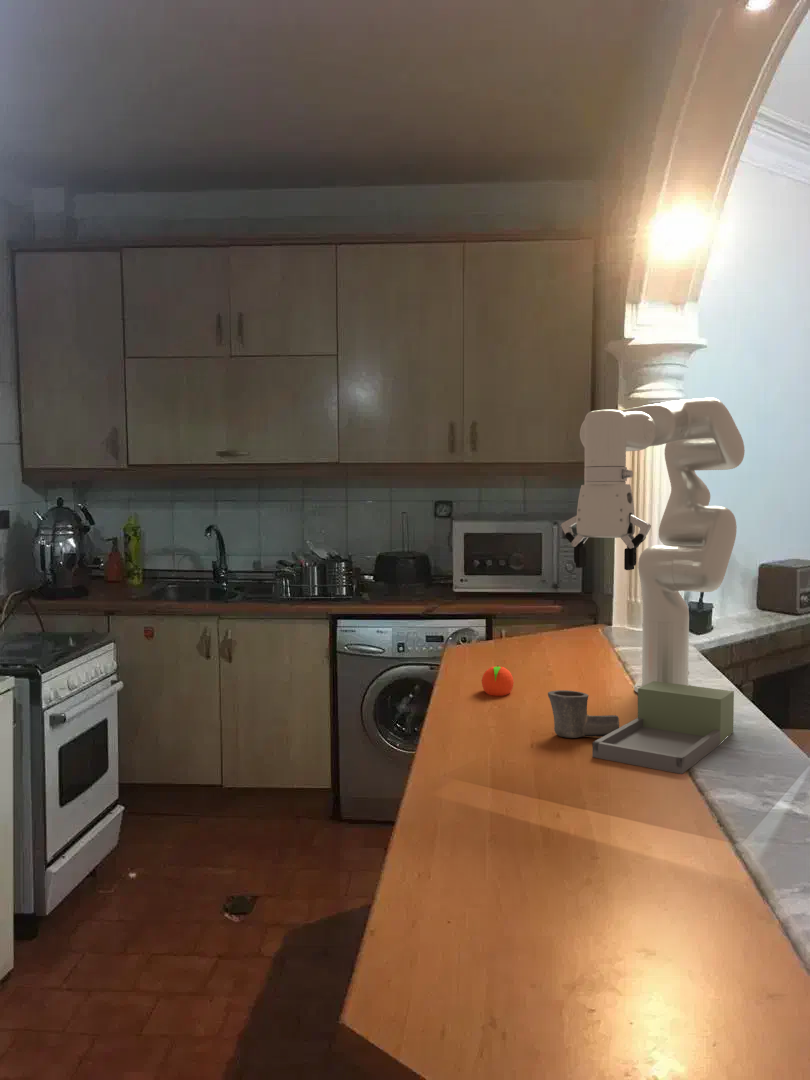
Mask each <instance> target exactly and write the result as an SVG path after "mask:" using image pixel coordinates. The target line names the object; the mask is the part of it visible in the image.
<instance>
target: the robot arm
mask: <svg viewBox="0 0 810 1080" xmlns="http://www.w3.org/2000/svg"><path fill="white" fill-rule="evenodd" d="M579 439H580V442H581V444H582V446H583V448H584V474H583V475H584V478H583V479H584V484H581V486H580V489H579V494H578V499H577V500H578V501H577V508H576V515H574V516H572V517H571V518H569V519H568V520H566V521H564V522H562V523H561V524H560V527H561V528H562V531H563V533H564V535H565V538H566V539H567V541H568V542H570V544H571V547H573V562H574V564H575V568H576V569H581V568H585V567H586V566H587V560H586V559H587V557H586V556H587V552H586V551H587V548H586V546H585V545H584V544H585V543H586V541H587V540H588V539H589V538H600V539H601V538H604V539H606V538H609V539H610V538H612V539H618V538H620V539H621V540H622V542H623V543H624V544H625V545H626V548H624V553H623V556H624V559H623V561H624V562H623V563H624V564H623V568H624V570H625V571H631V570H634V569H635V566H636V565H637V564H638V565H637V566H638V567H637V569H638V575H639V580H640V587H641V596H642V599H641V600H642V631H641V633H642V635H641V636H642V638H641V640H642V641H641V642H642V643H641V647H642V648H641V649H642V650H641V651H642V653H641V658H642V659H641V681H640V682H636V683H635V684H634V686H633V687H634V692H636V693H637V694H638V688H640V687H642V686H644V685H646V684H648V683H651V682H653V681H657V682H665V683H673V684H681V685H689V686H692V685H690V684H689V676H690V670H689V651H690V650H689V648H690V647H689V645H690V642H689V641H690V637H689V636H690V635H689V634H690V611H689V607H688V605H687V602H686V601H685V599H684V598H683V596H682V594H681V593H680V592H694V593H695V592H696V593H711V592H715V591H717V590H718V589H719V588H720V587H721V586H722V583H723V581H724V579H725V575H726V573H727V570H728V569H727V568H728V567H729V566H728V565H729V563H730V559H731V556H732V552H733V549H734V546H735V542H736V537H737V520H736V517H735V515H734V513H733V512H732V510H731V509H729V508H728V507H725V506H721V505H710V501H711V492H710V490H709V488H708V487H707V485H706V483H705V482H704V481H703V480H702V479H701V478H700V476H698V475H697V473H696V471H725V470H732V469H735V468H737V467H739V466H740V465H741V464H742V462H743V460H744V457H745V445H744V440H743V437H742V434H741V433H740V430H739V429H738V426H737V424H736V421H735V420H734V419H733V417H732V414H731V413H730V411H729V409H728V407H727V406H726V405H725V403H723V401H721V400H720V399H717V398H716V397H704V398H692V399H679V400H677V399H676V400H670V401H665V402H660V403H658V402H657V403H653V404H645V405H642V406H641V405H640V406H636V407H630V408H626V409H620V410H618V409H599V410H598V409H597V410H592V411H589V412H588V413H586V415H585V417H584V420H583V422H582V423H581V425H580V430H579ZM661 445H665V447H664V461H665V465H666V469H667V474H668V479H669V482H670V489H671V490H670V493H669V497H668V500H667V502H666V507H665V509H664V512H663V514H662V518H661V520H660V523H659V527H658V538H659V541H660V542H661V544H655V545H651V546H649V547H647V548H645V549H643V551H642V552H641V553H640V555H639V558H638V563H637V549H638V548H639V546H640V545H641V544H642V543H643V542H644V541H645V540H646V539H647V535H648V534H649V532H650V531H651V528H652V525H651V523H648V522H647V521H645V520H643V519H641V518H639V517H637V516H635V515H636V513H635V505H634V504H635V503H634V498H633V492H632V487H631V484H629V483H627V479H629V478H630V479H631V478H633V476H634V472H633V470H632V469H628V468H627V467H628V466H627V465H626V464H627V452H639V451H643V450H646V449H648V448H649V447H656V446H661ZM575 525H576V533H577V534H575V533H574V532H573V529H572V527H573V526H575ZM636 527H638V529H639V531H638V534H637V535H636V536H634V534H635V532H636Z"/></svg>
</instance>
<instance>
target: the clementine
mask: <svg viewBox="0 0 810 1080" xmlns="http://www.w3.org/2000/svg"><path fill="white" fill-rule="evenodd" d="M481 677H482V679H481V687H482V689H483V691H484V692H485V694H487V695H488V696H492V697H493V696H496V697H498V696H499V697H500V696H501V697H502V696H506V695H509V694H510V693H511V692H512V690H513V688H514V683H515V681H514V677H513V675H512V672H511V671H510V670H509V669H507V668H506V667H504V666H499V665H496V666H490V667H489V668H488V669H486V671H485V672H484V673H483V675H482V676H481Z"/></svg>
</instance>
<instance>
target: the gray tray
mask: <svg viewBox="0 0 810 1080" xmlns="http://www.w3.org/2000/svg"><path fill="white" fill-rule="evenodd" d="M689 685H690V684H688V685H681V684H673V683H665V682H657V681H653V682H651V683H648V684H646V685H644V686H642V687H640V688H638V693H637V717H636V718H634V719H632V720H631V721H629V722H628V723H625V724H623V725H622V726H619V728H618V729H616V730H614V731H612V732H611V733H609V734H607V735H605V736H603V737H600V738H597V739H596V740H594V741H592V756H591V757H592V758H596V759H600V760H606V761H612V762H617V763H622V764H627V765H631V766H632V765H633V766H636V767H637V766H638V767H642V768H643V767H644V768H650V769H653V770H659V771H664V772H665V771H666V772H669V773H675V774H680V775H683V774H684V773H685V772H687V771H688V770H689V769H690V768H692V767H693V766H694V765H696V764H697V763H698V762H699V761H701V760H702V759H703V758H705V757H706V756H707V755H709V754H710V753H711V752H712V751H714V750H715V749H717V746H718V745H719V744H720V743H721V742H722V741H723V740H724V739H725V738H726V737H727V736H729V735H730V734H731V733H732V732H733V733H734V714H735V713H734V709H735V707H734V706H735V703H734V702H735V700H734V699H735V690H734V691H733V690H728V689H727V690H725V689H719V688H712V687H711V688H710V687H704V686H703V687H702V686H695V685H691V686H689ZM733 733H732V734H733ZM732 734H731V735H732ZM731 735H730V736H731ZM730 736H729V737H730ZM720 745H721V744H720ZM720 745H719V746H720ZM719 746H718V747H719Z"/></svg>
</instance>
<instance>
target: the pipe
mask: <svg viewBox="0 0 810 1080" xmlns="http://www.w3.org/2000/svg"><path fill="white" fill-rule="evenodd" d="M547 696H548V699H549V701H550V705H551V709H552V714H553V715H552V716H553V723H554V724H553V725H554V727H553V728H554V730H553V731H554V733H555V734H556V736H558V737H560V738H567V739H576V738H584V737H588V738H589V737H591V738H592V737H593V738H594V737H598V738H599V737H600V738H601V737H603V736H605V735H607V734H609V733H611V732H612V731H614V730H616V729H618V728H620V719H619V716H618V715H612V714H611V715H590V714H588V710H587V709H588V699H589V694H587V693H584V692H580V691H575V690H564V689H563V690H560V689H559V690H551V691H548V692H547Z"/></svg>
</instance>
